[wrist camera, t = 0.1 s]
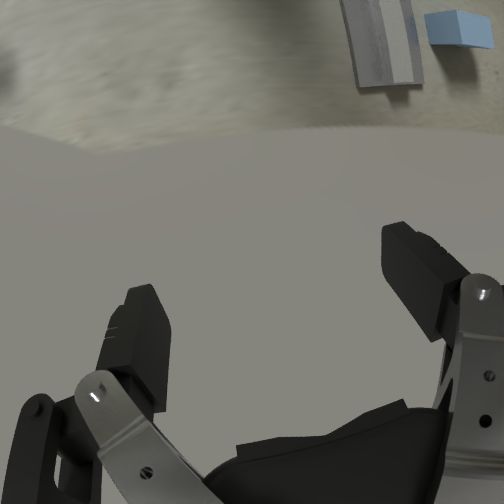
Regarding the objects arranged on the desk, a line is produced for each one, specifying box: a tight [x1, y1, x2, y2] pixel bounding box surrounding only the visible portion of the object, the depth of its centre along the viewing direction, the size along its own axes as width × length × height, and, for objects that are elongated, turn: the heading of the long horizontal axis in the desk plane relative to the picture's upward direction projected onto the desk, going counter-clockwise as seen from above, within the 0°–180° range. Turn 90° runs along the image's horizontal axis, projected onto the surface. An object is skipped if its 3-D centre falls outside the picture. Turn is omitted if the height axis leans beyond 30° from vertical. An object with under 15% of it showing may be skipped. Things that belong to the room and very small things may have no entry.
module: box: [424, 10, 495, 49], centre depth 27 cm, size 4×7×7 cm
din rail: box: [339, 0, 424, 87], centre depth 28 cm, size 20×10×4 cm, turn 12°
